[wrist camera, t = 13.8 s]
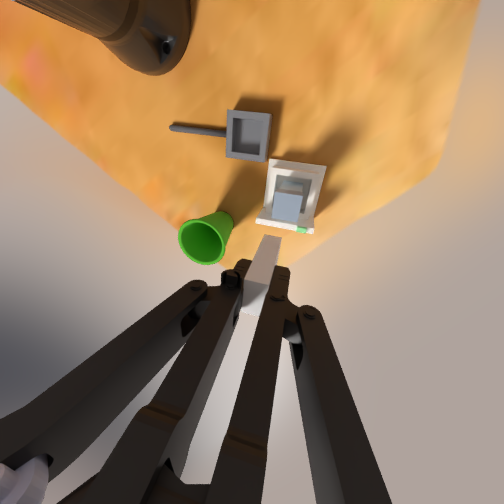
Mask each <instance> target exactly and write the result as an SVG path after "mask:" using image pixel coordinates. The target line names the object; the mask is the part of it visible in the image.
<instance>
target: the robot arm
mask: <svg viewBox="0 0 504 504" xmlns="http://www.w3.org/2000/svg"><path fill="white" fill-rule="evenodd" d="M12 1H15V2H17V3H20V4H22V5H24V6H26V7H29V8H31V9H33V10H35V11H38V12H40V13H42V14H44V15H47V16H49V17H51V18H53V19H56V20H58V21H60V22H62V23H64V24H67V25H69V26H71V27H73V28H76V29H78V30H80V31H82V32H85V33H87V34H89V35H92V36H94V37H96V38H98V39H99V40H100V41H101V42H102V43H103V44H104V45H105V46H106V47H107V48H108V49H109V50H110V51H111V52H112V53H114V54H115V55H116V56H117V57H118V58H119V59H120V60H121V61H122V62H123V63H125V64H126V65H127V66H129V67H130V68H132V69H134V70H136V71H139V72H141V73H144V74H147V75H152V76H157V75H162V74H165V73H167V72H169V71H170V70H172V69H173V68H174V67H175V66H176V65H177V63H178V62H179V61H180V59H181V57H182V56H183V54H184V51H185V49H186V46H187V43H188V39H189V33H190V24H191V9H190V0H12ZM281 239H282V238H281V237H276V236H271V235H264V237H263V239H262V241H261V243H260V246H259V248H258V250H257V252H256V254H255V256H254V259H253V261H251V260H247V259H241V260H239V261H238V262H237V264H236V265H235V267H234V269H229V270H225V271H223V272H222V273H221V285H220V286H207V283H206V282H204V281H202V280H193V281H190V282H188V283H187V284H185V285H184V286H183V287H182V288H180V289H179V290H178V291H176V292H175V293H174V294H172V295H171V296H170V297H168V298H167V299H166V300H164V301H163V302H162V303H160V304H159V305H158V306H156V307H155V308H154V309H153V310H151V311H150V312H149V313H147V314H146V315H145V316H144V317H142V318H141V319H139V320H138V321H137V322H135V323H134V324H133V325H131V326H130V327H129V328H127V329H126V330H125V331H124V332H122V333H121V334H120V335H118V336H117V337H116V338H114V339H113V340H112V341H110V342H109V343H108V344H107V345H105V346H104V347H103V348H101V349H100V350H98V351H97V352H96V353H95V354H93V355H92V356H91V357H89V358H88V359H87V360H85V361H84V362H83V363H81V364H80V365H79V366H78V367H76V368H75V369H73V370H72V371H71V372H70V373H68V374H67V375H66V376H64V377H63V378H62V379H60V380H59V381H58V382H56V383H55V384H54V385H53V386H51V387H50V388H48V389H47V390H46V391H45V392H43V393H42V394H41V395H39V396H38V397H37V398H35V399H34V400H33V401H31V402H30V403H29V404H27V405H26V406H24V407H23V408H21V409H19V410H17V411H15V412H13V413H11V414H9V415H7V416H6V417H4V418H2V419H0V504H41V503H42V501H43V499H44V495H45V490H46V487H47V485H48V483H49V482H50V481H51V480H52V479H54V478H55V477H56V476H57V475H59V474H60V473H61V472H62V471H63V470H64V469H66V468H67V467H68V466H69V465H70V464H71V463H72V462H74V461H75V460H76V459H77V458H78V457H79V456H80V455H81V454H82V453H83V452H84V451H85V450H86V449H87V448H88V447H89V446H90V445H91V444H92V443H93V442H94V441H95V440H96V438H97V437H98V436H99V435H100V434H101V433H102V432H103V431H104V430H105V429H106V428H107V427H108V426H109V425H110V424H111V422H112V421H113V420H114V419H115V418H116V417H117V416H118V415H119V414H120V413H121V412H122V410H123V409H124V408H125V407H126V406H127V405H128V404H129V403H130V402H131V401H132V400H133V399H134V398H135V397H136V396H137V394H138V393H139V392H140V391H141V390H142V389H143V388H144V387H145V386H146V385H147V384H148V383H149V382H150V381H151V379H152V378H153V377H154V376H155V375H156V374H157V373H158V372H159V371H160V370H161V369H162V368H163V367H164V365H165V364H166V363H167V362H168V361H169V360H170V359H171V358H172V357H173V356H174V355H175V354H176V353H177V352H178V350H179V349H180V348H181V347H182V346H183V345H184V344H185V343H186V344H185V345H184V347H183V349H182V351H181V352H180V354H179V355H178V357H177V359H176V360H175V362H174V364H173V365H172V367H171V369H170V370H169V372H168V374H167V375H166V377H165V379H164V381H163V382H162V384H161V386H160V387H159V389H158V391H157V392H156V394H155V396H154V397H153V399H152V401H151V402H150V403H149V404H148V405H146V406H144V407H142V408H141V409H140V410H139V411H138V412H137V413H136V415H135V416H134V418H133V419H132V421H131V422H130V424H129V425H128V427H127V429H126V430H125V432H124V433H123V435H122V437H121V438H120V440H119V441H118V443H117V445H116V447H115V448H114V449H113V451H112V453H111V454H110V456H109V458H108V459H107V461H106V462H105V464H104V466H103V467H102V469H101V470H100V472H98V473H97V474H96V475H94V476H93V477H91V478H90V479H89V480H87V481H86V482H85V483H83V484H82V485H81V486H79V487H78V488H77V489H76V490H74V491H73V492H71V493H70V494H69V495H68V496H66V497H65V498H63V499H62V500H61V501H59V502H58V503H57V504H261V499H262V492H263V485H264V477H265V470H266V462H267V443H268V436H269V429H270V422H271V415H272V407H273V400H274V393H275V385H276V379H277V371H278V364H279V357H280V349H281V342H282V337H283V338H285V339H287V340H288V341H289V345H290V351H291V357H292V363H293V368H294V374H295V380H296V386H297V392H298V397H299V404H300V410H301V416H302V421H303V427H304V433H305V439H306V445H307V451H308V456H309V462H310V468H311V474H312V480H313V486H314V492H315V497H316V503H317V504H392V502H391V499H390V497H389V494H388V491H387V488H386V486H385V483H384V481H383V478H382V475H381V472H380V470H379V467H378V464H377V462H376V459H375V456H374V454H373V451H372V449H371V446H370V443H369V440H368V438H367V435H366V432H365V430H364V427H363V424H362V422H361V419H360V416H359V414H358V411H357V408H356V406H355V403H354V400H353V397H352V395H351V392H350V390H349V387H348V384H347V381H346V379H345V376H344V373H343V371H342V368H341V365H340V363H339V360H338V357H337V355H336V352H335V349H334V347H333V344H332V341H331V339H330V336H329V333H328V331H327V328H326V326H325V323H324V320H323V317H322V315H321V313H320V311H319V310H317V309H316V308H315V307H313V306H309V305H303V306H301V307H297V306H295V305H294V304H292V303H291V302H290V301H289V299H288V296H287V294H288V286H289V279H290V271H289V269H288V268H286V267H282V266H277V260H278V255H279V250H280V244H281ZM240 309H241V312H243V313H247V314H251V315H255V316H259V320H258V324H257V327H256V331H255V334H254V338H253V341H252V345H251V348H250V352H249V356H248V359H247V363H246V366H245V370H244V373H243V377H242V380H241V384H240V388H239V391H238V395H237V398H236V402H235V405H234V409H233V413H232V416H231V420H230V423H229V427H228V430H227V433H226V435H225V437H224V440H223V443H222V446H221V449H220V453H219V456H218V460H217V463H216V467H215V470H214V474H213V477H212V481H211V484H185V483H183V482H182V481H181V480H180V477H181V474H182V472H183V469H184V466H185V463H186V459H187V455H188V451H189V447H190V444H191V441H192V438H193V436H194V433H195V430H196V428H197V425H198V423H199V420H200V417H201V415H202V412H203V410H204V407H205V404H206V402H207V399H208V396H209V394H210V391H211V389H212V386H213V383H214V381H215V378H216V376H217V373H218V371H219V368H220V365H221V363H222V360H223V358H224V355H225V352H226V350H227V347H228V345H229V342H230V340H231V337H232V334H233V332H234V329H235V326H236V324H237V321H238V319H239V312H240Z"/></svg>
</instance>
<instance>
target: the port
mask: <svg viewBox="0 0 504 504" xmlns="http://www.w3.org/2000/svg"><path fill="white" fill-rule="evenodd" d="M326 167H327V166H323V165H316V164H308V163H301V162H293V161H286V160H278V159H271V158H270V159H269V166H268V174H267V182H266V190H265V198H264V205H263V208H262V210H261V212H260V213H259V215H258V216H257V218H256V223H257V224H262V225H267V226H273V227H278V228H284V229H289V230H294V231H296V232H300V233H310V234H313V231H314V213H315V209H316V205H317V201H318V197H319V194H320V190H321V186H322V182H323V179H324V175H325V171H326ZM284 180H285V181H293V182H300V183H303V188H302V192H303V198H302V203H301V208H300V212H299V217H298V222H292V221H286V220H280V219H274V218H271V217H272V210H273V203H274V196H275V191H276V190H277V188H280V186H281V185H282V183H283V181H284Z"/></svg>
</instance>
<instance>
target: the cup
mask: <svg viewBox="0 0 504 504" xmlns="http://www.w3.org/2000/svg"><path fill="white" fill-rule="evenodd" d="M233 226H234V223H233V219H232V217H231V216H230V215H229V214H228V213H226V212H222V211H219V212H215V213H213V214H210V215H207V216H205V217H202V218H199V219H192V220H188V221H187V222H185V223H184V224H183V225H182V226H181V227H180V230H179V234H178V240H179V244H180V247H181V249H182V250H183V252H184V253H185V254H186V255H187V257H189V258H190V259H191V260H192V261H194V262H196V263H199V264H203V265H210V264H215V263H217V262H218V261H220V260H221V259H222V257H223V256H224V253H225V246H226V244H227V241H228V239H229V237H230V234H231V232H232V229H233Z"/></svg>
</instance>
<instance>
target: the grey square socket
mask: <svg viewBox="0 0 504 504" xmlns="http://www.w3.org/2000/svg"><path fill="white" fill-rule="evenodd" d="M272 116H273V115H271V114H269V113H258V112H248V111H238V110H227V135H226V157H228V158H235V159H242V160H250V161H257V162H266V161H267V157H268V149H269V141H270V132H271V124H272Z"/></svg>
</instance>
